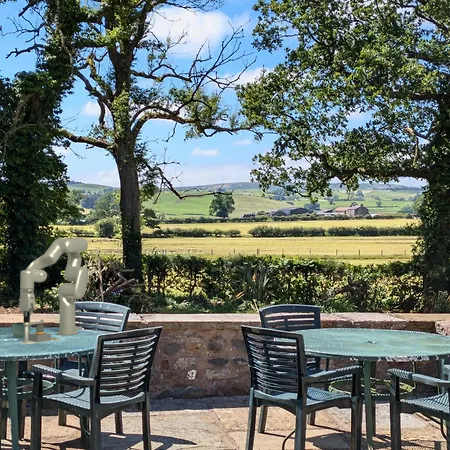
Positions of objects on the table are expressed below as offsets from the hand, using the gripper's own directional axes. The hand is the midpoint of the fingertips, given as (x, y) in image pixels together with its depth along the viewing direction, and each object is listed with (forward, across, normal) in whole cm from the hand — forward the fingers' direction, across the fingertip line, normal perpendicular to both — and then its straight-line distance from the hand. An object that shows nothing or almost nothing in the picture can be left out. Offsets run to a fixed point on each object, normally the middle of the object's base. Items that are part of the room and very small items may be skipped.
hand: (26, 322), depth 407 cm
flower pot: (+11, +12, -4) cm, 17 cm away
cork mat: (+11, -8, -14) cm, 19 cm away
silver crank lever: (0, -7, 0) cm, 7 cm away
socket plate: (+11, -7, -2) cm, 13 cm away
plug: (+10, -7, -4) cm, 13 cm away
